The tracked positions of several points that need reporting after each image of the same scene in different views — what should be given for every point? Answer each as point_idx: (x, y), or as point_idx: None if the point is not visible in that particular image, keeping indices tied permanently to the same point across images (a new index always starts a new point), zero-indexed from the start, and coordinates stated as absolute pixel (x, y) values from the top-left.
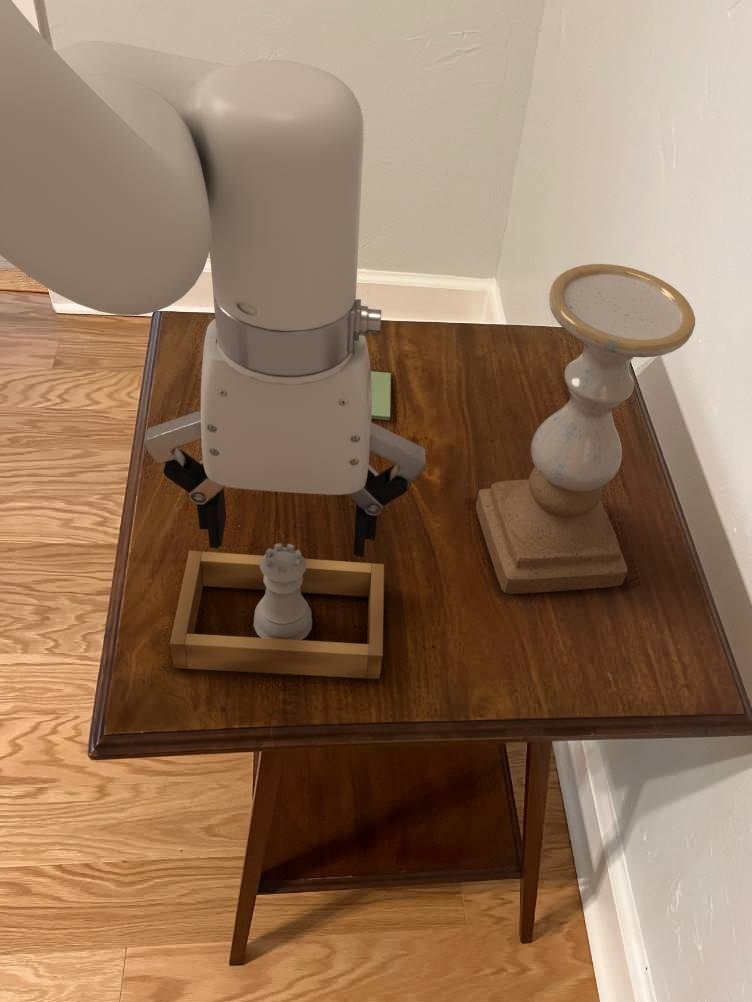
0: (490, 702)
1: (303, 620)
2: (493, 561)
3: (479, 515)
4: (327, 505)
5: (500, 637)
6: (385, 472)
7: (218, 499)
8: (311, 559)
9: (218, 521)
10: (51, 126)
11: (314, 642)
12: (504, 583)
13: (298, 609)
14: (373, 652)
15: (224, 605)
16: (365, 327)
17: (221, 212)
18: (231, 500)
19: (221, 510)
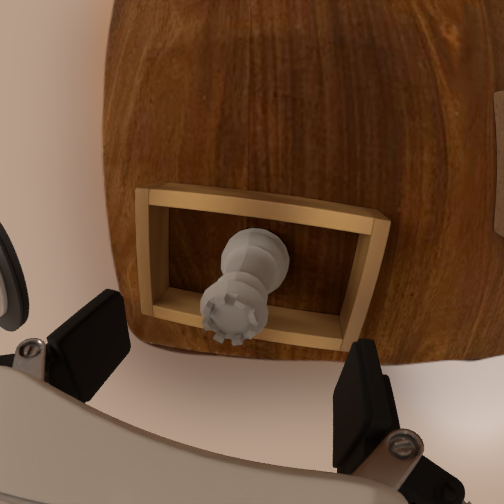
0: (432, 350)
1: (275, 286)
2: (498, 189)
3: (498, 116)
4: (320, 58)
5: (471, 286)
6: (418, 501)
7: (80, 389)
8: (290, 205)
9: (102, 384)
10: None
11: (283, 333)
12: (500, 232)
13: (267, 291)
14: (345, 348)
15: (193, 223)
16: None
17: None
18: (195, 57)
19: (99, 352)
